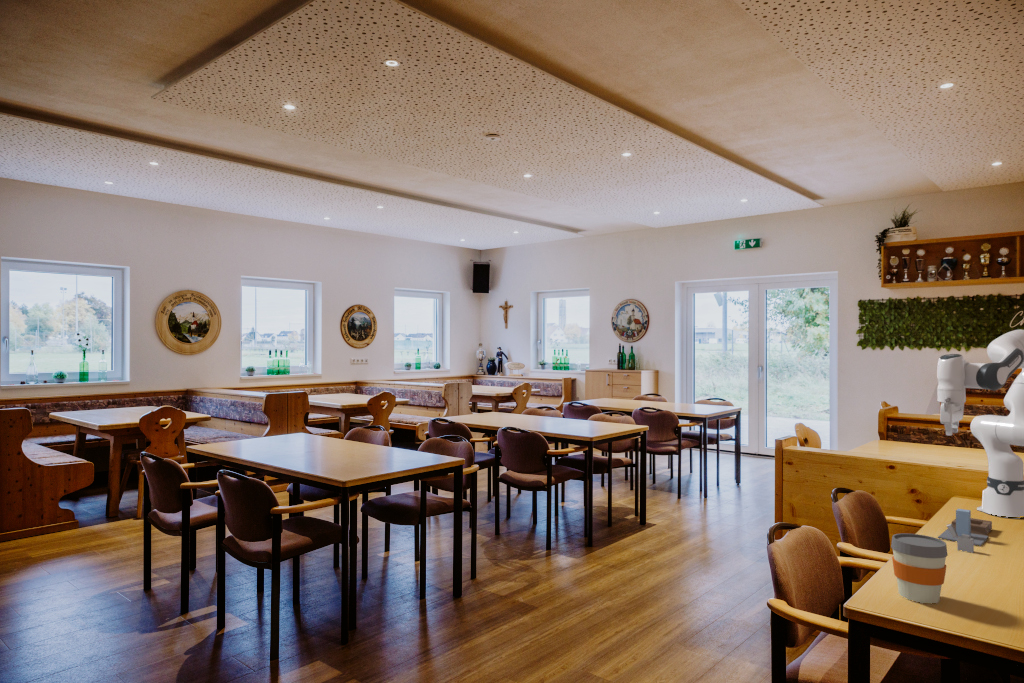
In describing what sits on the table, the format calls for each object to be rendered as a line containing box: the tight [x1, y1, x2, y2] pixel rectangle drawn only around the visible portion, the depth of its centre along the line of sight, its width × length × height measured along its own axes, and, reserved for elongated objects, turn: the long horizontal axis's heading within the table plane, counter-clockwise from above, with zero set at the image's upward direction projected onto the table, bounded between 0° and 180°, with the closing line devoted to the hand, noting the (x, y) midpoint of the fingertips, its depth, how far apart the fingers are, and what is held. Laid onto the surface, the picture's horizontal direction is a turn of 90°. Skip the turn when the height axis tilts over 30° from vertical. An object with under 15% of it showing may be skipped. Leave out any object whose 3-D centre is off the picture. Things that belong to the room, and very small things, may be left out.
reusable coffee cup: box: [890, 533, 948, 605], centre depth 167 cm, size 13×13×15 cm
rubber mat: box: [937, 528, 989, 547], centre depth 220 cm, size 14×12×1 cm
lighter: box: [946, 523, 975, 554], centre depth 207 cm, size 7×2×8 cm, turn 45°
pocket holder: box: [951, 517, 993, 536], centre depth 231 cm, size 12×10×3 cm
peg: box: [955, 508, 972, 537], centre depth 220 cm, size 4×4×9 cm
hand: (951, 434), depth 239 cm, fingers open, 8 cm apart
